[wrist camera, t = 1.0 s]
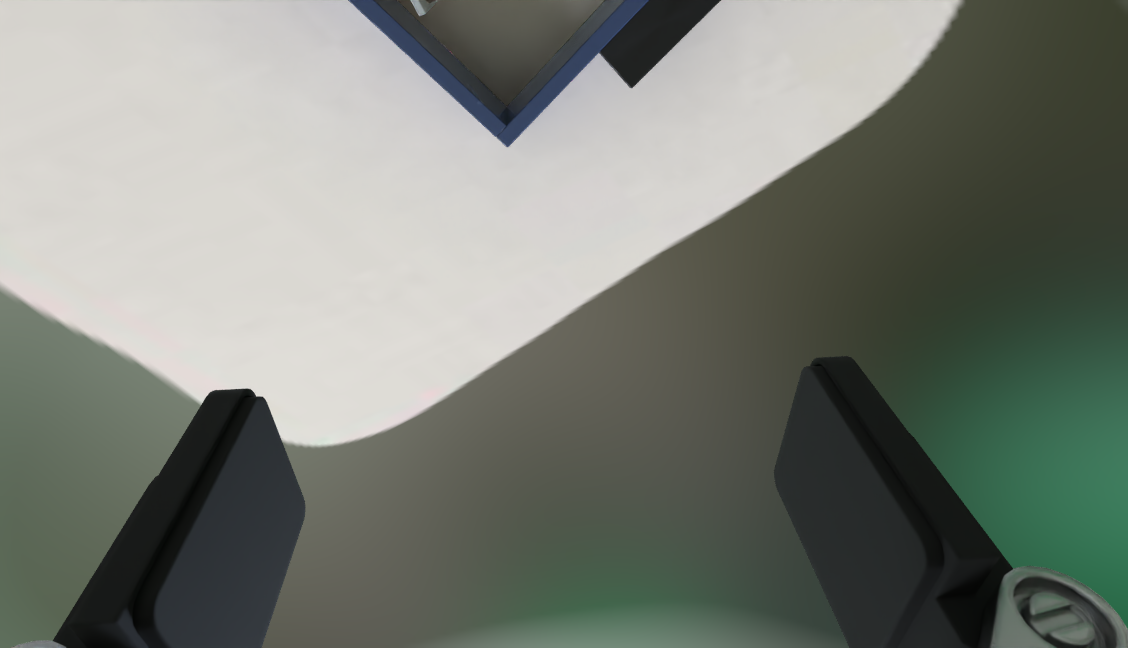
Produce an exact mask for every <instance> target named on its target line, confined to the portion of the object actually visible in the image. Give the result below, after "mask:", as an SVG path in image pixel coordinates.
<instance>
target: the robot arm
mask: <svg viewBox="0 0 1128 648" xmlns="http://www.w3.org/2000/svg"><path fill="white" fill-rule="evenodd" d="M774 478H775V484H776V487H777V490H778V492H779V494H780V497H781V499H782V501H783V503H784V505H785V508H786V510H787V512H788V514H789V516H790V518H791V521H792V523H793V525H794V527H795V529H796V532H797V534H798V536H799V538H800V540H801V543H802V545H803V547H804V549H805V551H806V554H807V556H808V558H809V560H810V562H811V565H812V567H813V569H814V571H815V573H816V575H817V578H818V580H819V582H820V584H821V586H822V589H823V591H824V593H825V595H826V597H827V599H828V602H829V604H830V606H831V608H832V611H833V613H834V615H835V617H836V619H837V621H838V624H839V626H840V628H841V630H842V632H843V635H844V637H845V639H846V641H847V643H848V646H849V648H1128V629H1127V628H1126V626H1125V624H1124V623H1123V621H1122V620H1121V618H1120V616H1119V615H1118V614H1117V613H1116V612H1115V611H1114V609H1113V608H1112V607H1111V606H1110V605H1109V604H1108V603H1107V602H1106V601H1105V600H1104V599H1103V598H1102V597H1100V596H1099V595H1098V594H1096V593H1095V592H1094V591H1093V590H1091V589H1090V588H1089V587H1087V586H1086V585H1084V584H1082V583H1081V582H1079V581H1077V580H1075V579H1073V578H1071V577H1069V576H1067V575H1065V574H1063V573H1060V572H1057V571H1054V570H1051V569H1048V568H1042V567H1034V566H1026V567H1019V568H1014V569H1013V568H1012V567H1011V565H1010V564H1009V563H1008V561H1007V560H1006V559H1005V558H1004V556H1003V555H1002V554H1001V552H1000V551H999V550H998V548H997V547H996V546H995V544H994V543H993V542H992V540H991V539H990V538H989V536H988V535H987V534H986V532H985V531H984V530H983V528H982V527H981V526H980V524H979V523H978V522H977V520H976V519H975V518H974V517H973V515H972V514H971V513H970V511H969V510H968V509H967V507H966V506H965V505H964V503H963V502H962V501H961V499H960V498H959V497H958V495H957V494H956V493H955V491H954V490H953V489H952V487H951V486H950V485H949V483H948V482H947V481H946V479H945V478H944V477H943V476H942V474H941V473H940V471H939V470H938V469H937V467H936V466H935V465H934V464H933V462H932V461H931V460H930V458H929V457H928V456H927V454H926V453H925V452H924V451H923V449H922V448H921V447H920V445H919V444H918V442H917V441H916V440H915V438H914V437H913V436H912V435H911V434H910V433H909V432H908V431H907V430H906V428H905V427H904V426H903V424H902V423H901V422H900V420H899V419H898V418H897V416H896V415H895V414H894V412H893V411H892V410H891V408H890V407H889V406H888V404H887V403H886V402H885V400H884V399H883V398H882V396H881V395H880V394H879V392H878V391H877V390H876V388H875V387H874V386H873V384H872V383H871V382H870V380H869V379H868V378H867V376H866V375H865V374H864V372H863V371H862V370H861V369H860V367H859V366H858V365H857V363H856V362H855V361H854V360H853V359H852V358H851V357H848V356H844V357H843V356H841V357H823V358H816V359H814V360H813V361H812V363H811V365H810V366H808V367H804V368H803V370H802V372H801V375H800V379H799V382H798V386H797V390H796V393H795V397H794V400H793V404H792V408H791V411H790V415H789V419H788V422H787V426H786V429H785V433H784V437H783V440H782V444H781V447H780V451H779V455H778V458H777V462H776V465H775V470H774ZM304 517H305V501H304V497H303V495H302V492H301V489H300V487H299V485H298V482H297V479H296V476H295V474H294V472H293V469H292V466H291V464H290V461H289V458H288V456H287V453H286V451H285V448H284V446H283V443H282V440H281V438H280V435H279V433H278V430H277V427H276V425H275V422H274V420H273V417H272V415H271V412H270V409H269V407H268V404H267V402H266V400H265V399H264V398H263V397H256V395H255V393H254V392H253V391H252V390H251V389H231V390H214V391H212V392H210V393H209V394H208V396H207V397H206V398H205V400H204V402H203V403H202V405H201V407H200V408H199V410H198V411H197V413H196V415H195V416H194V418H193V420H192V421H191V423H190V425H189V426H188V428H187V429H186V431H185V433H184V434H183V436H182V438H181V439H180V441H179V443H178V444H177V446H176V448H175V449H174V451H173V452H172V454H171V456H170V457H169V459H168V461H167V462H166V464H165V465H164V467H163V469H162V470H161V472H160V474H159V475H158V476H156V477H155V478H154V480H153V481H152V482H151V483H150V485H149V486H148V488H147V489H146V491H145V492H144V494H143V496H142V497H141V499H140V500H139V502H138V504H137V505H136V507H135V508H134V510H133V512H132V513H131V515H130V517H129V518H128V520H127V521H126V523H125V525H124V526H123V528H122V529H121V531H120V533H119V534H118V536H117V538H116V539H115V541H114V542H113V544H112V546H111V548H110V549H109V551H108V552H107V554H106V556H105V557H104V559H103V561H102V562H101V563H100V565H99V567H98V568H97V570H96V572H95V573H94V575H93V576H92V578H91V580H90V581H89V583H88V585H87V586H86V588H85V589H84V591H83V593H82V594H81V596H80V598H79V599H78V601H77V602H76V604H75V606H74V607H73V609H72V611H71V612H70V614H69V615H68V617H67V619H66V620H65V622H64V623H63V625H62V627H61V628H60V630H59V632H58V633H57V635H56V636H55V638H54V640H53V641H32V642H28V643H24V644H20V645H17V646H13V647H11V648H261V647H262V644H263V641H264V638H265V635H266V632H267V629H268V626H269V623H270V620H271V617H272V614H273V611H274V608H275V605H276V602H277V599H278V596H279V593H280V590H281V587H282V584H283V581H284V578H285V575H286V572H287V569H288V566H289V563H290V560H291V557H292V554H293V551H294V548H295V545H296V542H297V539H298V536H299V533H300V530H301V527H302V524H303V521H304Z"/></svg>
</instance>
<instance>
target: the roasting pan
mask: <svg viewBox="0 0 1128 648" xmlns="http://www.w3.org/2000/svg"><path fill="white" fill-rule="evenodd" d="M348 1H350V2H351V3H352V4H353V5H354V6H355V7H356V8H357V9H358V10H359V11H360V12H361V13H362V14H364V15H365V16H366V17H367V18H368V19H369V20H370V21H371V22H372V23H373V24H374V25H375V26H376V27H378V28H379V29H380V30H381V31H382V32H383V33H384V34H385V35H386V36H387V37H388V38H389V39H391V40H392V41H393V42H394V43H395V44H396V45H397V46H398V47H399V48H400V49H401V50H402V51H403V52H405V53H406V54H407V55H408V56H409V57H410V58H411V59H412V60H413V61H414V62H415V63H416V64H417V65H419V66H420V67H421V68H422V69H423V70H424V71H425V72H426V73H427V74H428V75H429V76H430V77H432V78H433V79H434V80H435V81H436V82H437V83H438V84H439V85H440V86H441V87H442V88H443V89H444V90H446V91H447V92H448V93H449V94H450V95H451V96H452V97H453V98H454V99H455V100H456V101H457V102H458V103H460V104H461V105H462V106H463V107H464V108H465V109H466V110H467V111H468V112H469V113H470V114H471V115H473V116H474V117H475V118H476V119H477V120H478V121H479V122H480V123H481V124H482V125H483V126H484V127H485V128H487V129H488V130H489V131H490V132H491V133H492V134H493V135H494V136H495V137H496V136H497V138H498V139H499V140H500V141H501V142H502V143H503V144H504V145H505V146H506V147H509V146H510V145H511V144H512V143H513V142H514V141H515V140H516V139H517V138H518V137H519V136H520V134H521V133H522V132H523V131H524V130H525V129H526V128H527V127H528V126H529V125H530V124H531V123H532V122H533V121H534V120H535V119H536V118H537V117H538V116H539V115H540V114H541V113H542V112H543V110H544V109H545V108H546V107H547V106H548V105H549V104H550V103H551V102H552V101H553V100H554V99H555V98H556V97H557V96H558V95H559V94H560V93H561V92H562V91H563V90H564V89H565V87H566V86H567V85H568V84H569V83H570V82H571V81H572V80H573V79H574V78H575V77H576V76H577V75H578V74H579V73H580V72H581V71H582V70H583V69H584V68H585V67H586V66H587V64H588V63H589V62H590V61H591V60H592V59H593V58H594V57H595V56H596V55H597V54H598V53H600V54H601V56H602V57H603V58H604V59H605V60H606V61H607V62H608V63H609V65H610V66H611V67H612V68H613V69H614V70H615V71H616V72H617V74H618V75H619V76H620V77H621V78H622V79H623V80H624V81H625V83H626V84H627V85H628V86H629V87H630V88H633V87H634V86H635V85H636V84H637V83H638V82H639V81H640V80H641V79H642V78H643V77H644V76H645V75H646V74H647V73H648V72H649V71H650V70H651V69H652V68H653V67H654V66H655V65H656V64H657V63H658V62H659V61H660V60H661V59H662V58H663V57H664V56H665V55H666V54H667V53H668V52H669V51H670V50H671V49H672V48H673V47H674V46H675V45H676V44H677V43H678V42H679V41H680V40H681V39H682V38H683V37H684V36H685V35H686V34H687V33H688V32H689V31H690V30H691V29H692V28H693V27H694V26H695V25H696V24H697V23H698V22H699V21H700V20H701V19H702V18H704V17H705V16H706V15H707V14H708V13H709V12H710V11H711V10H712V9H713V8H714V7H715V6H716V5H717V4H718V3H719V2H720V1H721V0H605V1H604V2H603V3H602V4H601V5H600V7H599V8H598V9H597V10H596V11H595V12H594V13H593V14H592V15H591V16H590V17H589V18H588V20H587V21H586V22H585V23H584V24H583V25H582V26H581V27H580V28H579V29H578V30H577V31H576V32H575V34H574V35H573V36H572V37H571V38H570V39H569V40H568V41H567V42H566V43H565V44H564V45H563V47H562V48H561V49H560V50H559V51H558V52H557V53H556V54H555V55H554V56H553V57H552V58H551V60H550V61H549V62H548V63H547V64H546V65H545V66H544V67H543V68H542V69H541V70H540V71H539V73H538V74H537V75H536V76H535V77H534V78H533V79H532V80H531V81H530V82H529V83H528V84H527V85H526V87H525V88H524V89H523V90H522V91H521V92H520V93H519V94H518V95H517V96H516V97H515V98H514V100H513V101H512V102H511V103H510V104H509V105H508V106H507V107H506V105H505V104H504V103H503V102H502V101H501V100H500V99H498V98H497V97H496V96H495V95H494V94H493V93H492V92H491V91H490V90H489V89H488V88H487V87H486V86H485V85H484V84H483V83H482V82H481V81H480V80H479V79H478V78H477V77H476V76H475V75H474V74H473V73H472V72H471V71H470V70H469V69H467V68H466V67H465V66H464V65H463V64H462V63H461V62H460V61H459V60H458V59H457V58H456V57H455V56H454V55H453V54H452V53H451V52H450V51H449V50H448V49H447V48H446V47H445V46H444V45H443V44H442V43H441V42H440V41H439V40H438V39H436V38H435V37H434V36H433V35H432V34H431V33H430V32H429V31H428V30H427V29H426V28H425V27H424V26H423V25H422V24H421V23H420V22H419V21H418V20H417V19H416V18H415V17H414V16H413V15H412V14H411V13H410V12H409V11H408V10H407V9H406V8H404V7H403V6H402V5H401V4H400V3H399V2H398V1H397V0H348Z"/></svg>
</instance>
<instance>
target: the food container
mask: <svg viewBox="0 0 1128 648" xmlns="http://www.w3.org/2000/svg"><path fill="white" fill-rule="evenodd" d="M437 1H438V0H411V2H412V4H413V6H414V7H415V9H416V11H417V13H418V15H419V16H421V15H423V14H424V15H425V14H426V13H427V12H428V11H429V10H430V9H431V8H432V7H433V5H434V4H435V3H436V2H437Z"/></svg>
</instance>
